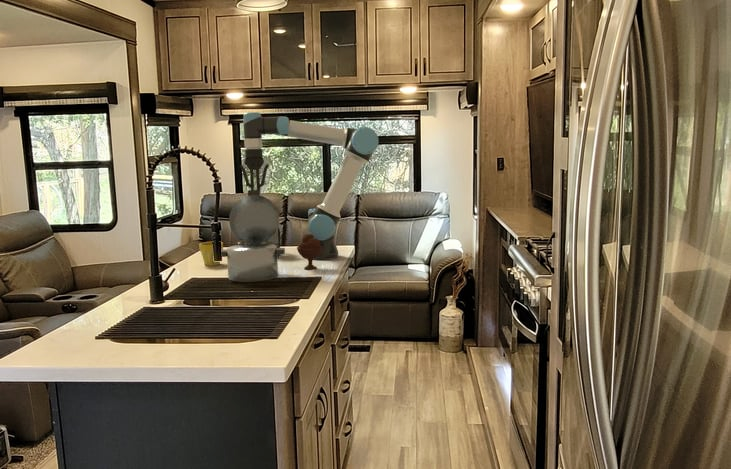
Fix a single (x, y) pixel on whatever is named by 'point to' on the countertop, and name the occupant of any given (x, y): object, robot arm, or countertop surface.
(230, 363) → the countertop surface
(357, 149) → the robot arm
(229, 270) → the cooker pot
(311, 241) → the ice cream bowl
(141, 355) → the countertop surface
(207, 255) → the plant pot
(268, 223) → the cooker lid
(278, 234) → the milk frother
